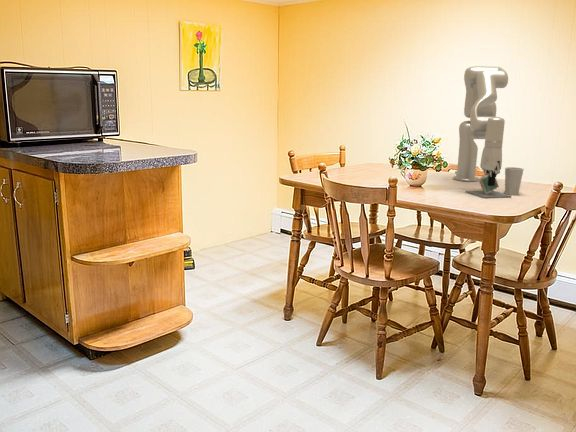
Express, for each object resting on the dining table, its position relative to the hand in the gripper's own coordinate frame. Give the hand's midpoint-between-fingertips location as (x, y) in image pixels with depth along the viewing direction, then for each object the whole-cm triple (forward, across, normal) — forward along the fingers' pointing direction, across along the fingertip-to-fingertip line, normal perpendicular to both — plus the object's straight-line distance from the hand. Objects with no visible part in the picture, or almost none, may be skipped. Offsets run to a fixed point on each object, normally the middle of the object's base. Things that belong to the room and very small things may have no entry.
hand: (489, 184), depth 246 cm
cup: (+5, -1, +13) cm, 14 cm away
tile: (+1, 0, -4) cm, 4 cm away
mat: (+5, -1, 0) cm, 5 cm away
